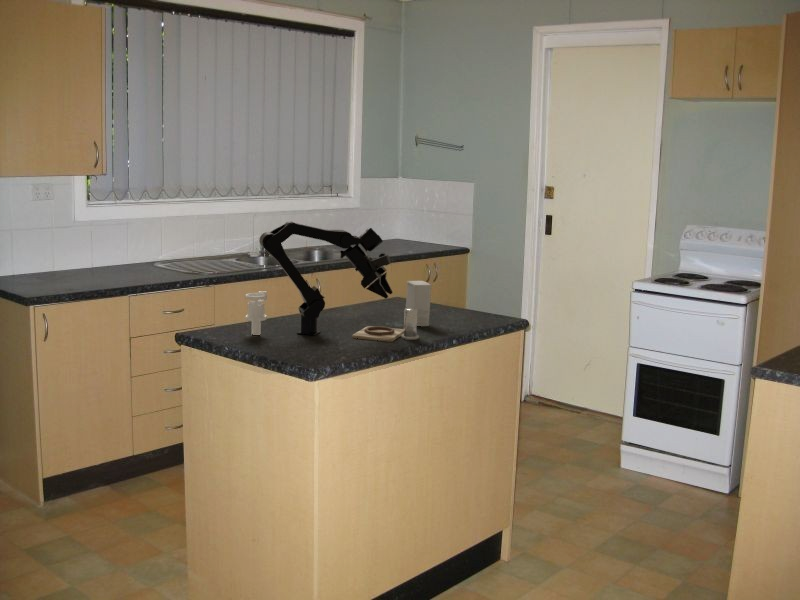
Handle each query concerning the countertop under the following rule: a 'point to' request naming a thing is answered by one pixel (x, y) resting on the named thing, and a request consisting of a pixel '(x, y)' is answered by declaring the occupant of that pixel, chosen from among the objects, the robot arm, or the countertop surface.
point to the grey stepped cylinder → (256, 310)
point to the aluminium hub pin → (410, 324)
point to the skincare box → (419, 300)
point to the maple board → (378, 333)
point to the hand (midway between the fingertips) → (389, 295)
